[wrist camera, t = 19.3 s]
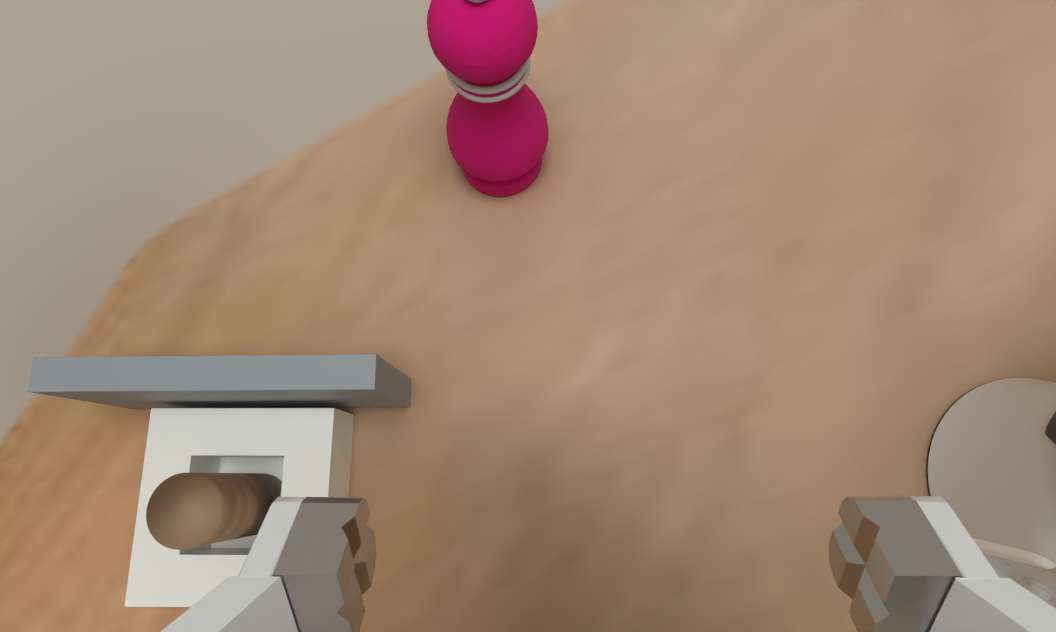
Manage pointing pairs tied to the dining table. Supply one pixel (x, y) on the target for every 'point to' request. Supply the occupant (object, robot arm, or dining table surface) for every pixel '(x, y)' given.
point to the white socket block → (230, 447)
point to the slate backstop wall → (224, 381)
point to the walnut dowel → (209, 507)
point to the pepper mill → (491, 90)
